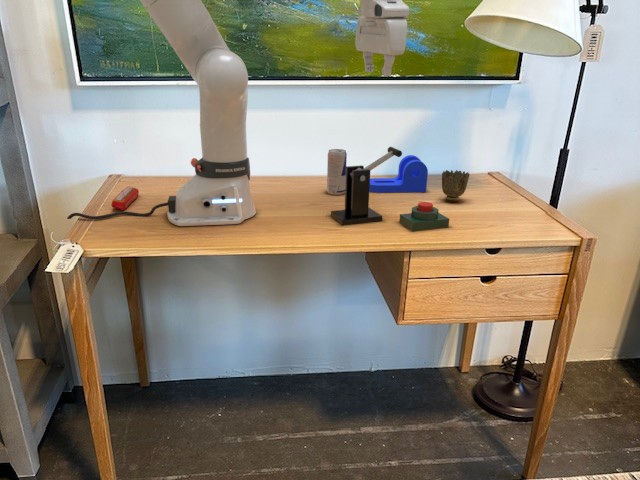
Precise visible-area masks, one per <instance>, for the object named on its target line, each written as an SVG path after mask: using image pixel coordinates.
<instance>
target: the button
mask: <svg viewBox="0 0 640 480" xmlns="http://www.w3.org/2000/svg"><path fill="white" fill-rule="evenodd" d="M417 206H418V211H421V212H432V211H433V207H434V204H433V203H432V202H429V201H421V202H418V203H417Z"/></svg>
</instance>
